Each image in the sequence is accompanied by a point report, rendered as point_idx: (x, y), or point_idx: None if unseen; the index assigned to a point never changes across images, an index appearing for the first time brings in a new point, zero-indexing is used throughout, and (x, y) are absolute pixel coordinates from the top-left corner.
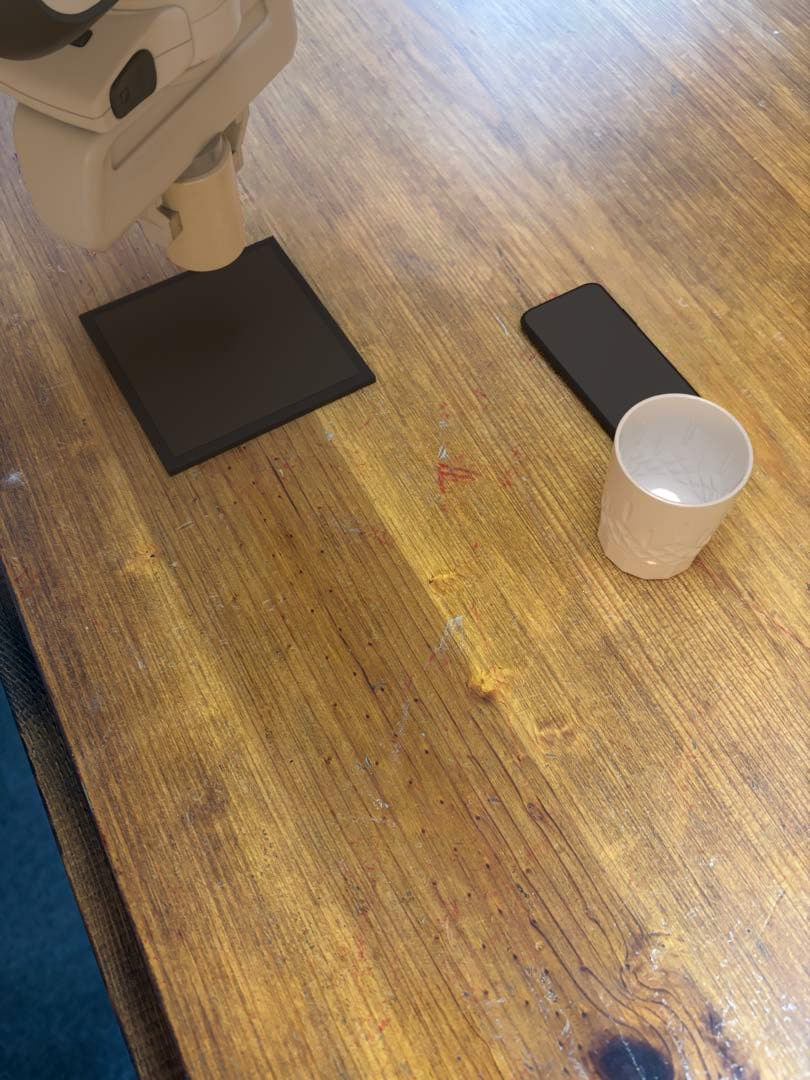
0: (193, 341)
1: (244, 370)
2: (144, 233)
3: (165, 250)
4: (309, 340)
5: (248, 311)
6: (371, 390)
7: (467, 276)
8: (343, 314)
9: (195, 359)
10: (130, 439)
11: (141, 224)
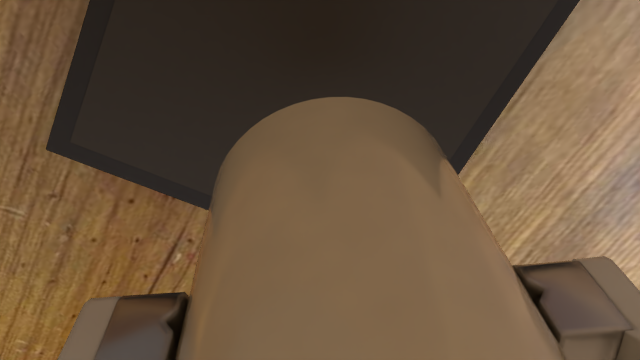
0: (284, 4)
1: None
2: (82, 310)
3: (222, 167)
4: None
5: (402, 47)
6: None
7: (623, 263)
8: (480, 166)
9: (252, 36)
10: (49, 38)
11: (64, 345)
